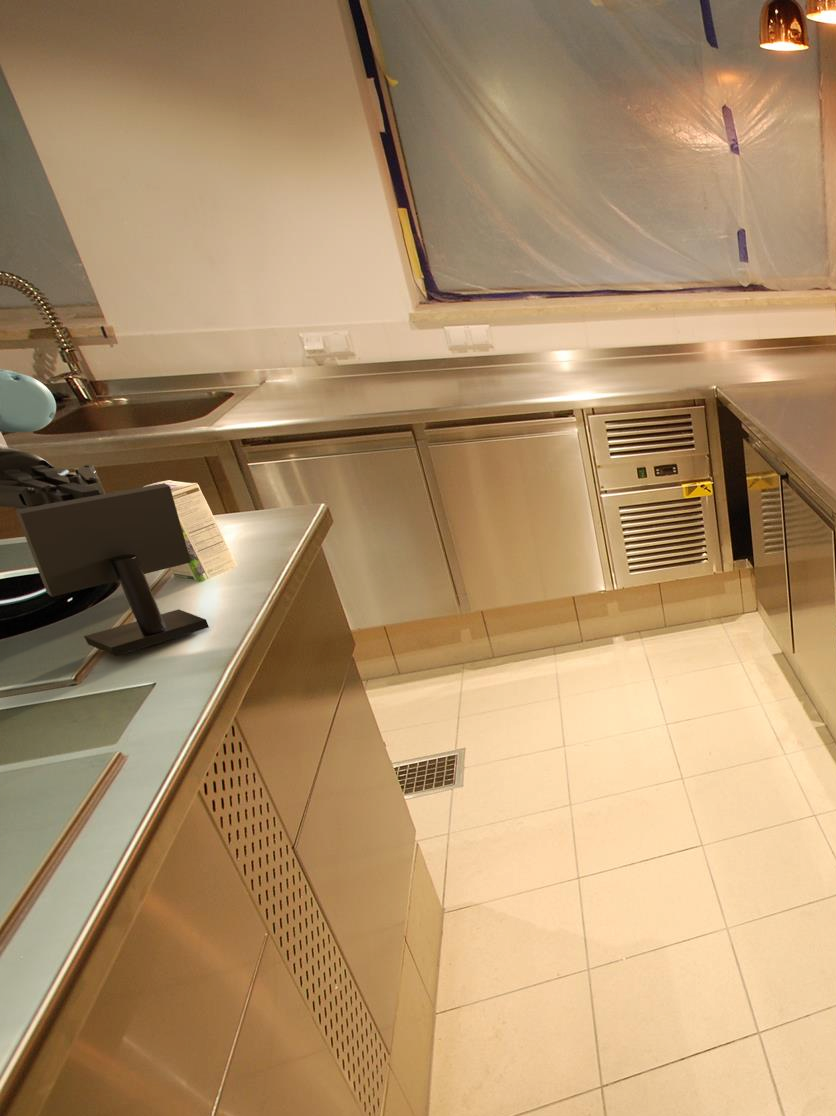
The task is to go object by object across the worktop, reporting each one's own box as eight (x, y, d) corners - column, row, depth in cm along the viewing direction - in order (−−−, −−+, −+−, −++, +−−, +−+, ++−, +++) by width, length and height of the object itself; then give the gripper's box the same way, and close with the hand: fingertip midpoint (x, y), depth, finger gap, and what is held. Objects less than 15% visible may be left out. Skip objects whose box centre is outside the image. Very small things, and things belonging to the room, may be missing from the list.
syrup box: (175, 583, 126) (125, 492, 118) (213, 566, 131) (168, 477, 123) (205, 587, 125) (156, 495, 117) (242, 570, 130) (198, 481, 122)
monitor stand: (114, 656, 104) (76, 571, 99) (87, 644, 107) (49, 561, 102) (209, 627, 112) (178, 548, 107) (182, 617, 115) (150, 539, 110)
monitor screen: (52, 597, 100) (20, 513, 95) (46, 592, 101) (14, 509, 95) (191, 562, 112) (170, 486, 106) (185, 559, 112) (164, 482, 106)
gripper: (83, 493, 118) (171, 518, 109) (-48, 516, 107) (37, 546, 98) (60, 439, 115) (149, 460, 105) (-78, 458, 104) (7, 483, 95)
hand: (95, 501), depth 102 cm, fingers closed
